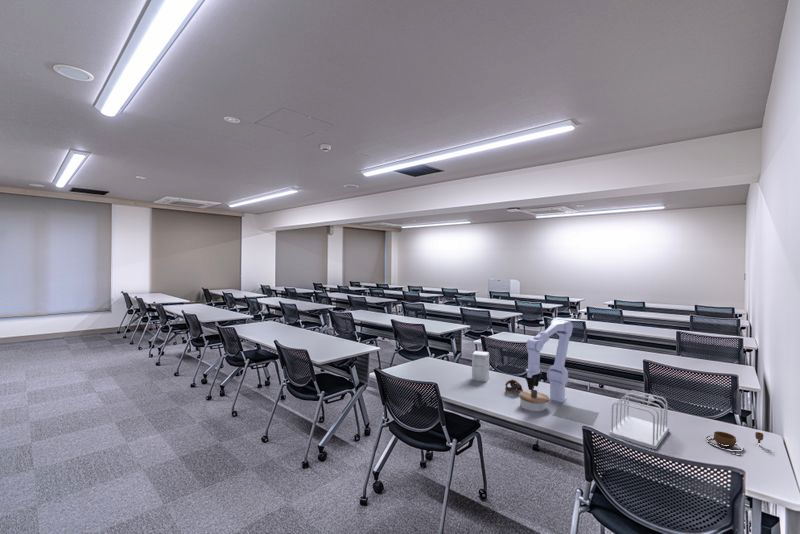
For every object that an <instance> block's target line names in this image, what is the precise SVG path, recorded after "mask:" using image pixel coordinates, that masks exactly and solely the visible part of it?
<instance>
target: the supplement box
mask: <svg viewBox="0 0 800 534" xmlns="http://www.w3.org/2000/svg"><path fill="white" fill-rule="evenodd" d="M471 355H472V356H471V380H472V381H477V382H479V381H480V382H487V381H488V380H489V378H490V352H489V351H479V350H475V351H474V352H473V353H472V354H471Z"/></svg>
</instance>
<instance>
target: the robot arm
mask: <svg viewBox="0 0 800 534" xmlns="http://www.w3.org/2000/svg"><path fill="white" fill-rule="evenodd" d="M573 328H574V324H573V323H572V321H570V320H562V319H559V318H558V319H557V318H553V319H552V320H551V321H550V325H549V326H548V327H547V328H546V329H545V330H544V331H539V332H538V333H537V334H536V335H535V336H534V337H533V338H529V339H527V341H526V344H525V346H526V351H527V353H528V355H527V357H528V359H527V368H526V369H525V371H526V372H527V373H526V374H525V375H524V379H525V380H526V382H527V388H528V391H531V390H532V391H533V390H535V387H539V382H540V379H541V377H542V375H543V372H541V370H540V369H541V367H540V365H541V364H540V362H541V361H540V360H541V351H542V349H543V347H544V345H545V344H546V343H547V342H548V341H550V337H551V336H552V335H554V334H557V336H558V337H559V338H558V342H557V347H556V351H555V352H556V353H555V358H554V363H553V365H550V366H549V368H548V371H547V373H546V378H547V380H548V382H549V396H548V397H549V401H555V402H559V403H563V402H564V401H565V400H566V399H567V396H566V385H567V383H568V381H569V371H568V370H567V368H566V367H565V364H566V358H567V353H568V347H569V342H570V337H572V333H573Z"/></svg>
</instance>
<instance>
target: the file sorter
mask: <svg viewBox="0 0 800 534" xmlns="http://www.w3.org/2000/svg"><path fill="white" fill-rule="evenodd" d="M630 395H632V396H635V397H632V396H630ZM644 395H646V396H644ZM649 396H650V397H649ZM636 397H637V398H636ZM638 397H640V398H644V399H647V400H651V401H656V402H659V403H661V404H662V405H663V408H662V407H661V406H660V405H659V404H657V403H655V402H651V401H647V400H644V399H639V398H638ZM652 397H653V398H652ZM657 398H658V399H657ZM630 399H631V400H635V401H639V402H642V403H647V404H650V405H654V406H656V407H658V408H659V409H660V414H659V411H658V410H657V409H656V408H655V407H652V406H648V405H645V404H641V403H639V402H634V401H631V400H630ZM662 400H663V401H664V402H665V403H664V402H663V401H662ZM616 401H617V402H614V403H613V404H612V405H611V429H610V430H609V433H608V434H609V435H610V436H613V437H617V438H619V439H622V440H624V441H627V442H629V441H630V442H629V443H632V444H636V445H639V446H642V447H645V448H648V449H651V448H652V450H654V449H656V450H657V448H658V447H659V445H660V444H661V443H662V441H663V440H664V439H665V437H666V435H668V433H669V432H670V427H669V426H668V401H667V399H665V398H664V397H663V396H661V395H660V396H659V395H655V394H650V393H647V392H641V391H638V390H629V391H628V392H627V393H626V394H625V395H624V396H622V397H621V398H620V399H619V400H616ZM626 402H627V403H626ZM630 404H634V405H638V406H641V407H645V408H648V409H645V408H641V407H636V406H634V405H630ZM615 405H616V406H615ZM619 405H620V409H619ZM614 406H615V407H616V408H615V413H616V414H615V426H614ZM630 408H633V409H637V410H640V411H644V412H647V413H649V414H651V415H652V418H653V419H652V421H648V420H644V419H640V418H638V417H633V416H631V415H630V414H629V412H630ZM622 409H623V410H622ZM649 409H651V410H654V411H655V412H656V414H657V415H656V416H655V414H654V413H653V412H652V411H650V410H649ZM626 410H627V411H626ZM622 411H623V414H622ZM618 415H619V419H618ZM622 415H623V418H622ZM618 420H619V422H618Z"/></svg>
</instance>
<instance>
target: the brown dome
mask: <svg viewBox="0 0 800 534" xmlns="http://www.w3.org/2000/svg"><path fill="white" fill-rule="evenodd" d="M508 385H510V386H508ZM504 390H505V393H511V392H524V390H523V386H522V385H521V383H519V381H517V380H516V379H510V380H507V381H506V382H505V389H504Z"/></svg>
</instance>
